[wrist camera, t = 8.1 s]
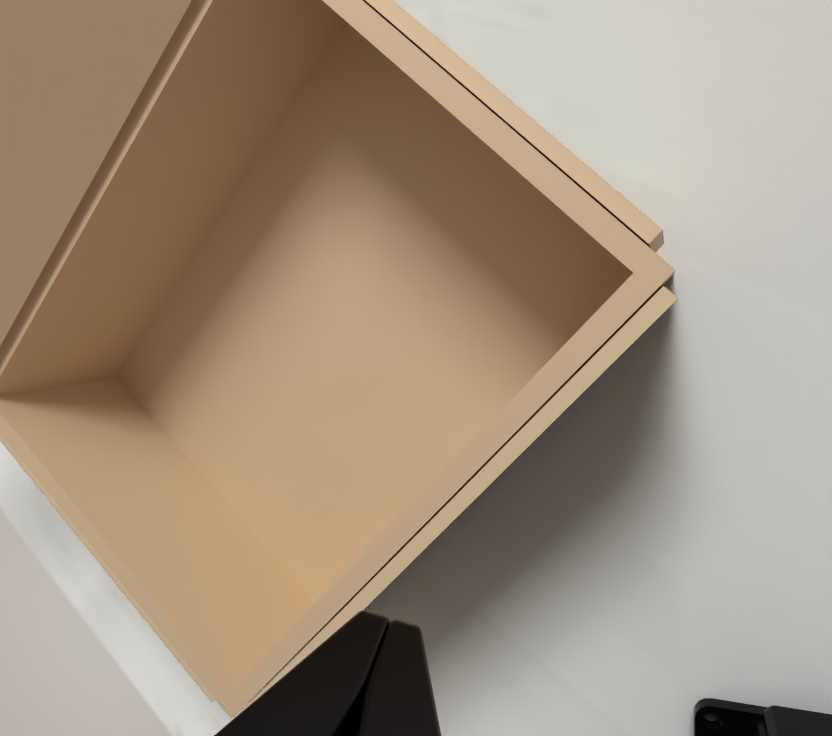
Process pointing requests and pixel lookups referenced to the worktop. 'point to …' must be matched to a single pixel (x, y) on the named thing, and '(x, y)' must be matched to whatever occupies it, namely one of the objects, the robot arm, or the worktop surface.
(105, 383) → the carton
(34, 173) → the carton flap
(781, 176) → the worktop surface
